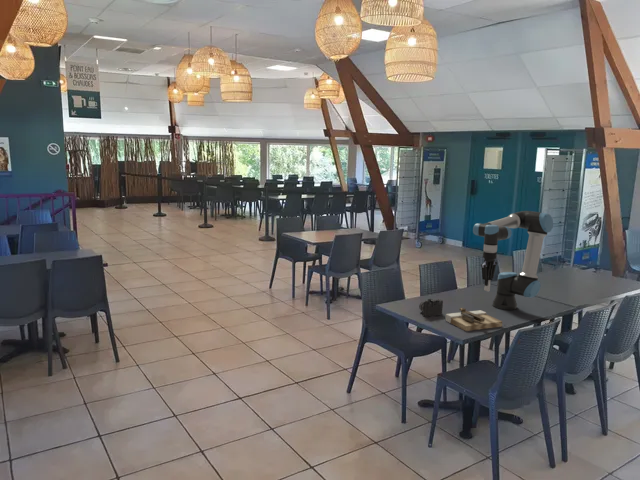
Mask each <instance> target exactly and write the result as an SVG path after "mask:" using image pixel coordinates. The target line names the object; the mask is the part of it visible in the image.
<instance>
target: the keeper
mask: <svg viewBox="0 0 640 480" xmlns="http://www.w3.org/2000/svg"><path fill="white" fill-rule="evenodd" d="M462 319H463V320H465V321H467V322H469V323H474V317H473V316H471V315H469V314H467V313H463V315H462Z"/></svg>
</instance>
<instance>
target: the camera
mask: <svg viewBox="0 0 640 480" xmlns="http://www.w3.org/2000/svg"><path fill="white" fill-rule="evenodd" d="M443 304H444V300H443V299H439V298H437V299H432V298H428V299H427V300H426V299H425V301H421V302H420V304H419V310H420V311H421V312H422V316H423V317H426V318H427V317H429V318H430V317H434V316H441V315H443V307H444V305H443Z"/></svg>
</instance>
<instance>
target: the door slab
mask: <svg viewBox="0 0 640 480" xmlns="http://www.w3.org/2000/svg"><path fill="white" fill-rule="evenodd" d="M479 316H481V317H483V318H485V321H484V322H479V321H477V320H475V319H474V323H469V322H467V321H465V320H463V319H462V317H458V318H451V323H450V324H452V325H453V326H456V327H458V328H459V329H461V330H463V331H465V332H470V331H477V330H478V331H479V330H484V329H492V328H500V327H503V320H500V319H498V318H496V317H493V316H491V315H489V314H487V313H486V314H484V315H479Z"/></svg>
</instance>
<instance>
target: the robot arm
mask: <svg viewBox="0 0 640 480" xmlns="http://www.w3.org/2000/svg"><path fill="white" fill-rule="evenodd" d="M518 228H519V229H525V230H527V231H526V232H527V233H528V238H527V239H528V240H527V244H526V250H525V255H524V259H523V265H522V269H521V272H520V273H517V272H515V271H514V272H513V271H503V272H499V273H498V275H497V276H498V277H497V281H496V282H497V284H496V285H497V286H496V294H495V297H494V300H492V307H494V308H496V309H500V310H507V311H513V310H516V309H517V307H518V304H517V299H516V295H518V296H522V297H524V298H529V299H532V298H535V297H536V296H537V295H538V294H539V292H540V290H541V282H540V280H539V277H538V275H537V273H538V269H539V268H538V267H539V263H540V258H541V253H542V248H543V242H544V239H545V237H547V235H548V233H550V232H552V230H553V228H554V220H553V217H552V215H551V214H549V213H546V212H541V211H540V212H539V211H532V210H522V211H517V212H513V213H510V214H509V215H508V216H506V217H503V218H500V219H495V220H492V221H488V222H484V223H482V222H479V223H475V224H474V225H473V227H472V233H473V235H475V236H478V237H483V239H484V241H483V252H482V258H483V263H481V264H480V267H481V277H482V280H484V288H483V289H484V290H483V291H486V292H490V289H491V281H493V279H494V276H495V273H496V272H495V271H496V267H497V265H498V262H497V261H495V260H496V259H497V255H498V252H497V251H498V245H499V244H498V243H499V241H505V240H507V239H510V238H511V236H512V234H513V233H512V229H518Z"/></svg>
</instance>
